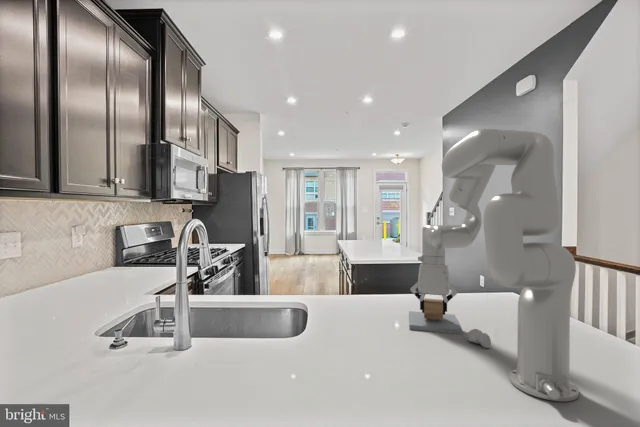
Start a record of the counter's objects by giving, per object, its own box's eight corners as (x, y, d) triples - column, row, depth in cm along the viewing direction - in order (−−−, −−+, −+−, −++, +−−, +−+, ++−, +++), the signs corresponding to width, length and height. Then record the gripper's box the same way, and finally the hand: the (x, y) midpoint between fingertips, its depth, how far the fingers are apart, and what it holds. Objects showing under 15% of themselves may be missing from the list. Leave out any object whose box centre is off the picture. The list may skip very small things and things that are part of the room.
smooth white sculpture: (465, 343, 101) (481, 338, 101) (478, 353, 93) (495, 347, 93) (461, 329, 101) (477, 324, 101) (473, 338, 93) (490, 333, 93)
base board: (461, 334, 105) (461, 329, 105) (409, 329, 109) (409, 324, 109) (454, 318, 121) (454, 314, 121) (409, 315, 125) (409, 311, 125)
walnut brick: (443, 319, 110) (443, 304, 111) (424, 317, 112) (424, 303, 112) (442, 313, 117) (442, 299, 117) (424, 312, 119) (424, 298, 119)
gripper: (407, 261, 113) (407, 313, 113) (462, 263, 109) (461, 318, 109) (407, 258, 121) (407, 308, 121) (458, 260, 116) (458, 311, 116)
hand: (433, 312), depth 115 cm, fingers closed on walnut brick, 6 cm apart
